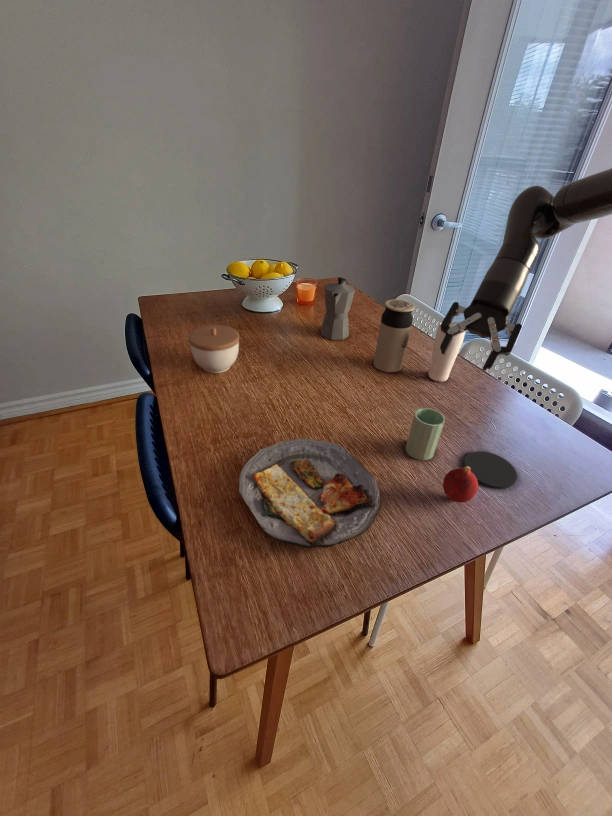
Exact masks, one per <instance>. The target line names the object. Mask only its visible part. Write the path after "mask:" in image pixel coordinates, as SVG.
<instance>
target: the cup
mask: <svg viewBox="0 0 612 816" xmlns="http://www.w3.org/2000/svg"><path fill="white" fill-rule="evenodd" d="M445 423H446V417H445V415H444V414H443V413H442V412H440V411H438V410H437V409H434V408H430V407H420V408H418V409H416V410H415V412H414V414H413V419H412V421H411V425H410V429H409V433H408V437H407V440H406V443H405V451H406V453H407V454H408V455H409V456H410V457H411V458H413V459H414V460H418V461H428V460H431V459H432V458H433V457H434V455H435V453H436V451H437V450H436V449H437V447H438V444H439V441H440V438H441V434H442V432H443V430H444V426H445Z"/></svg>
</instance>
